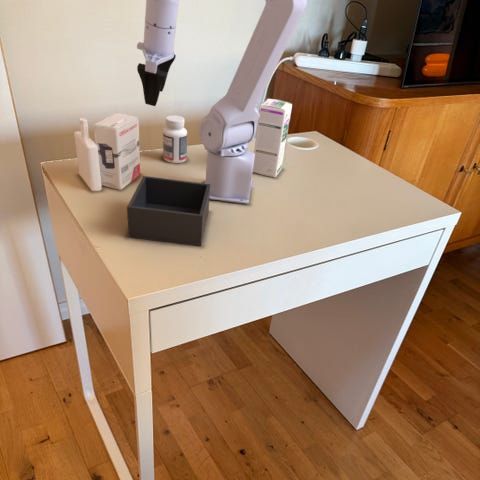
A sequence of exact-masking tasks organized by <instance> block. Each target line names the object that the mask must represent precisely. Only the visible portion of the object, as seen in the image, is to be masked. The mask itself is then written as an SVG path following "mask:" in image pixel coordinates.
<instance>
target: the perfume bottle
mask: <svg viewBox="0 0 480 480" xmlns="http://www.w3.org/2000/svg"><path fill="white" fill-rule="evenodd" d="M79 127H80V130H79V131H74V132H73V134H74V142H75V152H76V158H77V166H78V168H77V169H78V175H79V176H80V178H81V179H82V180H83V181H84V182H85V184H86V186H87V187H89V189H90V190H91V191H92V192H99V191H101V190H102V185H101V177H100V167H99V156H98V147H97V145H96V144H95V141H93V139H92V138H91V137H90V130H89V129H90V128H89V123H88V119H87V118H86V117H81V118H80V117H79Z"/></svg>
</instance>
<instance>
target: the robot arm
mask: <svg viewBox="0 0 480 480" xmlns="http://www.w3.org/2000/svg"><path fill="white" fill-rule="evenodd" d="M179 1H180V0H145V13H144V14H145V15H144V29H143V30H144V31H143V42H141V41H138V42H137V44H136V49H138V50H140V51H142V54H143V56H144V59H145V63H141V62H139V63H138V64H137V66H136V70H137V73H138V75H139V78H140V81H141V85H142V91H143V99H144V103H145V105H149V106H152V107H156V106H157V103H158V101H159V97H160V93H162V92H163V91H164V89H165V86H166V83H167V82H166V81H167V79H168V75H169V72H170V69H171V66H172V64H173V63H174V62H175V60H176V57H177V56H176V54H175V51H174V49H175V48H174V47H175V39H176V31H177V22H178V21H177V19H178V11H179V3H180V2H179ZM307 5H308V0H265V5H264V8H263V10H262V12H261V14H260V16H259V19H258V21H257V23H256V24H255V25H256V26H255V27H254V29H253V32H252V34H251V37H250V40H249V42H248V44H247V46H246V48H245V51H244V53H243V56H242V58H241V60H240V62H239V64H238V67H237V69H236V70H235V73H234V76H233V78H232V80H231V82H230V84H229V88H228V89H227V92H226V93H225V95H224V96H223V97H222V98H220V99H219V100H218V101H217V102H215V103H214V104H213V105H212V106H211V108H210V110H209V112H208V113H207V115H205V116H203V118H202V119H201V120H200V123H199V127H198V128H199V129H198V131H199V132H198V133H199V138H200V141H201V144H202V145H203V147H204V150H205V151H207V152H206V164H205V165H206V166H205V168H206V169H205V180H204V184H210V199H209V200H213V201H221V202H230V203H237V204H245V205H247V204H249V203H250V196H251V191H253V185H254V181H253V173H254V172H253V165H254V157H255V153H254V151H249V150H248V148H249V144H250V143H251V142H252V141H253V140H254V138H255V137H256V132H257V124H258V119H259V117H260V114H259V109H258V108H257V105H258V103H259V101H260V99H261V98H262V95H263V93H264V91H265V90H266V88H267V86H268V84H269V82H270V80H271V79H272V78H271V77H273V74H274V72H275V70H276V68H277V66H278V64H279V62H280V60H281V58H282V56H283V54H284V52H285V50H286V49H287V46H288V44H289V42H290V41H291V39H292V37H293V35H294V33H295V31H296V29H297V27H298V25H299V23H300V21H301V19H302V18H303V15H304V13H305V10H306V8H307Z"/></svg>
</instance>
